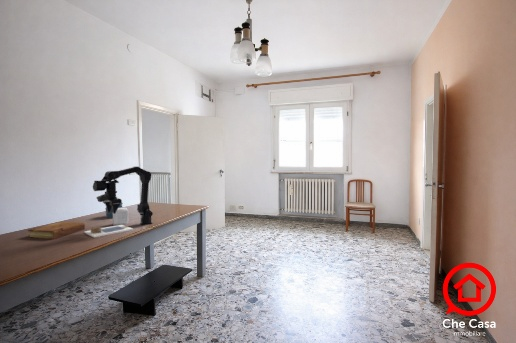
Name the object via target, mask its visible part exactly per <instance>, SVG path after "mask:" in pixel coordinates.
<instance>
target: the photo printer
mask: <svg viewBox="0 0 516 343" xmlns="http://www.w3.org/2000/svg"><path fill="white" fill-rule="evenodd" d="M124 224H129V210H128V208H127V207H123V208H118V209H117V211H116V213H115V214H113V218H112V225H113V226H117V225H124Z"/></svg>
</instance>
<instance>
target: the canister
mask: <svg viewBox="0 0 516 343" xmlns="http://www.w3.org/2000/svg"><path fill="white" fill-rule="evenodd" d="M118 208H124V206H123V202H122V203H121V204H120V205H119V207H118ZM104 209H105V218H106V219H113V209H112V207H111V210H110V212H108V210H107V207H106V206H105V208H104Z"/></svg>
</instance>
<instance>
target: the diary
mask: <svg viewBox="0 0 516 343" xmlns="http://www.w3.org/2000/svg"><path fill="white" fill-rule="evenodd" d="M85 226H86V225H85V223H84V222H70V221H69V222H67V221H59V222H56V223H51V224H46V225H42V226H40V227H34V228H31V229H27V232H29V238H30V237H34V238H33V239H42V240H43V239H45V240H46V239H47V240H56V239H59V238H62V237H65V236H69V235H71V234H74V233H77V232H81V231H85Z"/></svg>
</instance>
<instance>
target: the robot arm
mask: <svg viewBox="0 0 516 343" xmlns="http://www.w3.org/2000/svg"><path fill="white" fill-rule="evenodd" d="M130 174H136V175H138V176H139V180H140V183H141V186H140V187H141V192H140V203H139V204H137V205H136V206H137V209H136V210H137V213H138V214H139V216H140V224H141V225H144V226H146V225H151V224H153V222H152V216H153V215H154V213H153V211H152V210H150V204H149V202H148V200H149V199H148V198H149V183H150V181H151V179H152V172H150V171H147V170H146V169H144V168H141V167H140V166H132V167H128V168H124V169H119V170H110V171H109V170H108V171H106V172H105V174H104V176H103V177H102V179H101V180H94V182H93V185H92V189H93V191H94V192H102V191H104V194H101V195H98V196H97V197H96V199H97V201H98V202H99V203H101V202H102V204H104V205H105V208H106V207H107V210H108V212H110V210H111V207H112V209H113V214H115V213H116V211H117V209H118V207H119V205H120V204H121V203H123V201H122V199H121V198H119V197H117V193H118V191H117V188H116V187H117V184H119V183H120V181H119V180H117V179H119V178H121V177H122V176H123V177H124V176H126V175H130Z"/></svg>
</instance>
